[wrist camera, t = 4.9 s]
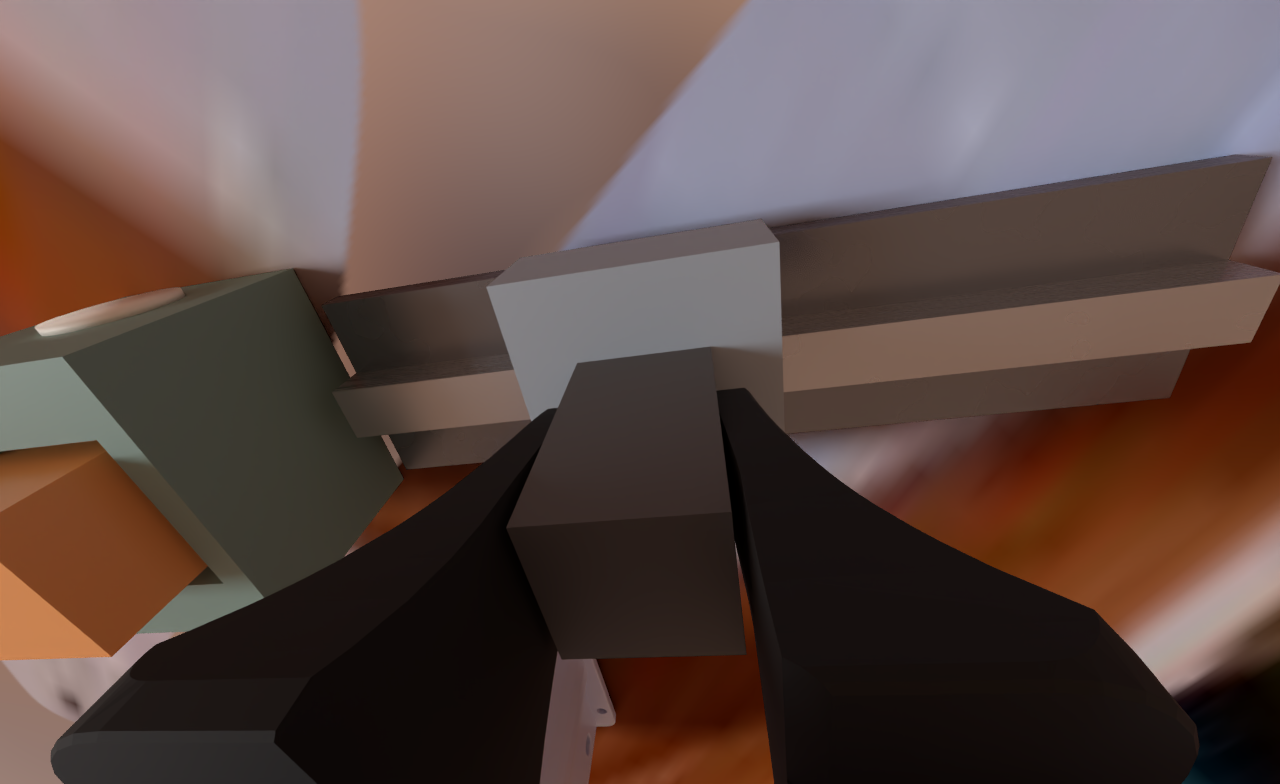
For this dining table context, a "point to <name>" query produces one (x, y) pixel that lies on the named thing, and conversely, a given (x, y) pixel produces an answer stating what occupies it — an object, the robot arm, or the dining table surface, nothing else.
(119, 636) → the button
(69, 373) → the cabinet
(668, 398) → the carriage
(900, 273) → the rail
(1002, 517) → the dining table surface
